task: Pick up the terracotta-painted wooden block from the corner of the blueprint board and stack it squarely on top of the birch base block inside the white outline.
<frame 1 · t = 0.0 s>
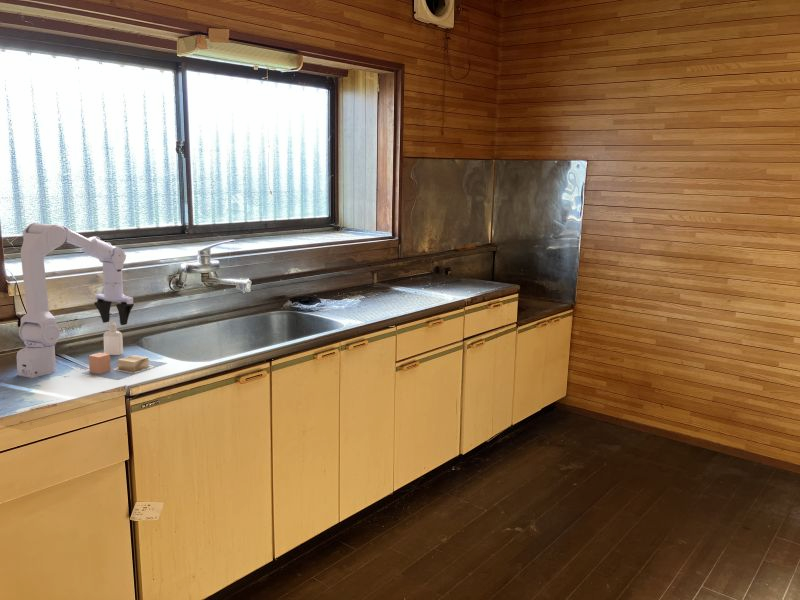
hand: (114, 323, 210), 10 cm above the counter, tool pointing down, fingers open, 7 cm apart
eye dropper bottle: (113, 356, 209), on the counter
base block: (133, 368, 193), point 1 cm above the counter, touching blueprint board
blueprint board: (126, 370, 193), on the counter
top block: (100, 371, 189), point 1 cm above the counter, touching blueprint board
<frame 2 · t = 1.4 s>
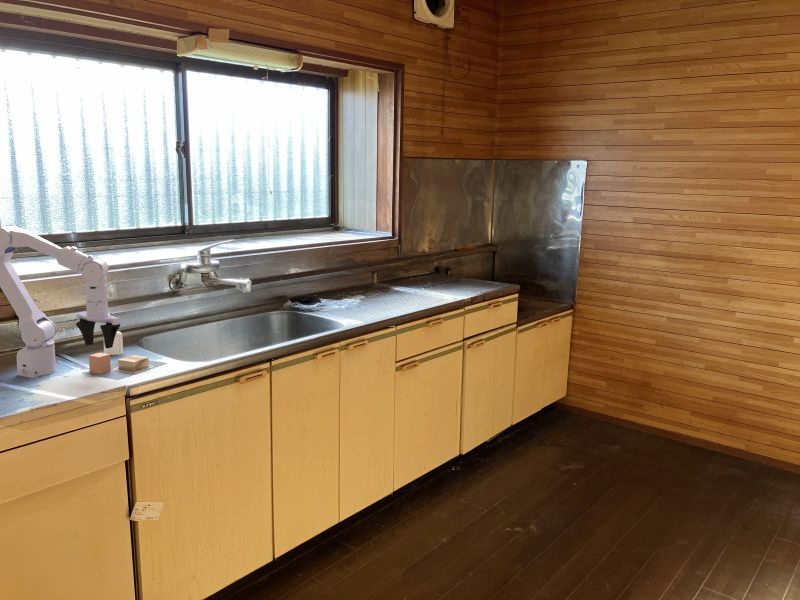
hand: (99, 346, 187), 8 cm above the counter, tool pointing down, fingers open, 7 cm apart
nothing on the counter moved.
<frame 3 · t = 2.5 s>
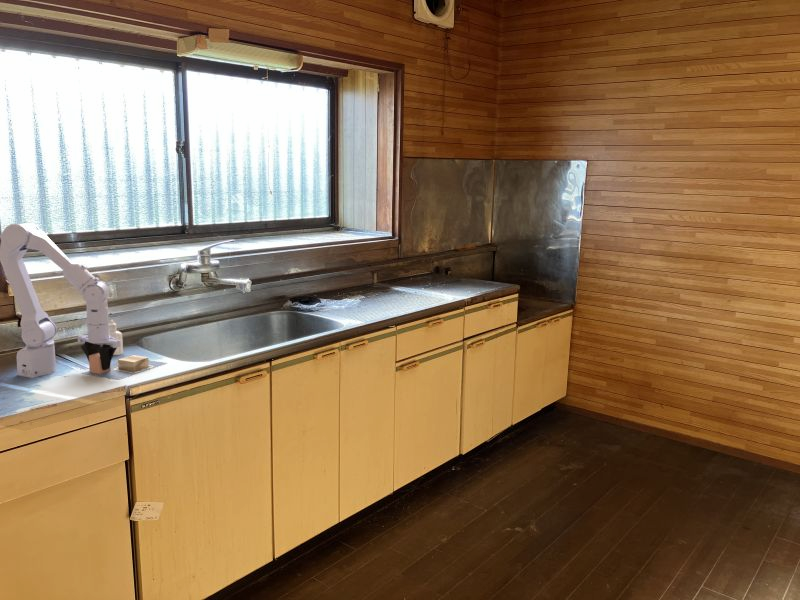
hand: (100, 368, 189), 2 cm above the counter, tool pointing down, fingers closed on top block, 4 cm apart
top block: (100, 371, 189), point 1 cm above the counter, touching blueprint board, gripper
everything else where it was.
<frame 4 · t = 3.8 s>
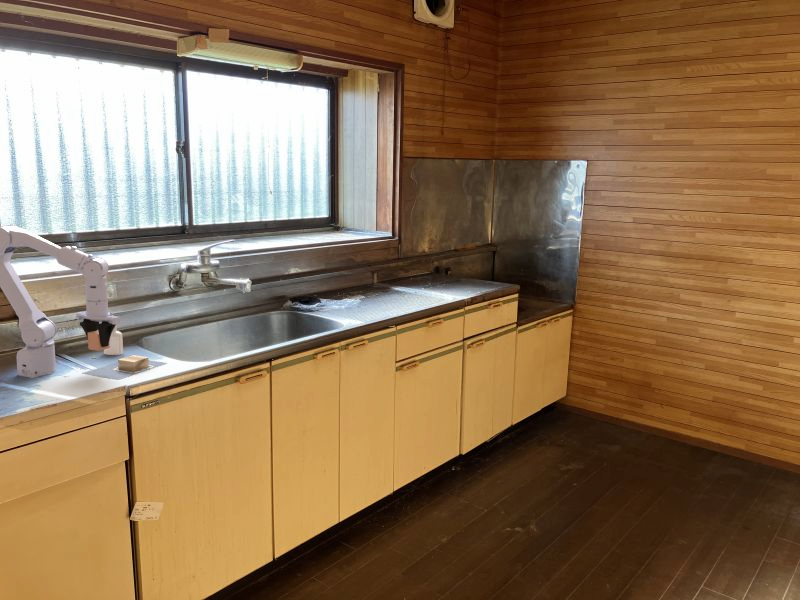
hand: (98, 345, 187), 9 cm above the counter, tool pointing down, fingers closed on top block, 4 cm apart
top block: (99, 348, 188), point 8 cm above the counter, touching gripper
everything else where it was.
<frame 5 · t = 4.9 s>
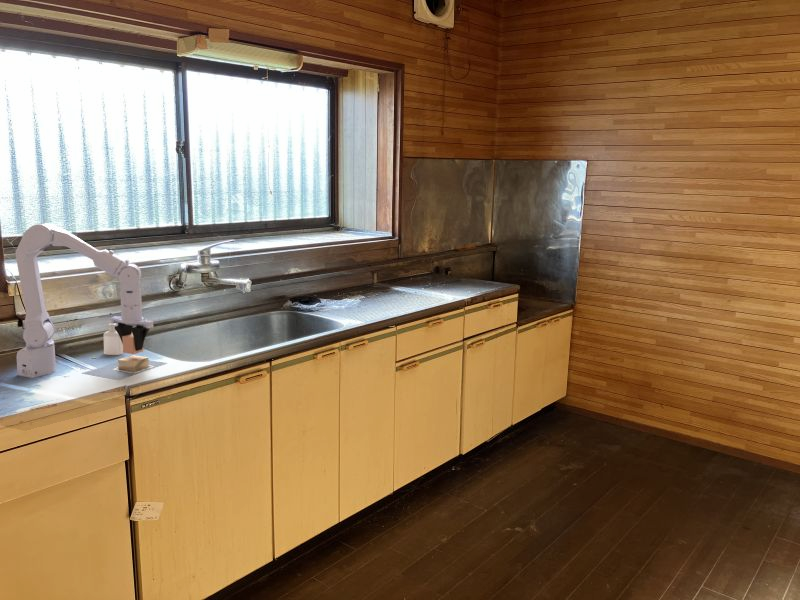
hand: (133, 348, 192), 7 cm above the counter, tool pointing down, fingers closed on top block, 4 cm apart
top block: (133, 351, 192), point 6 cm above the counter, touching gripper
everything else where it was.
when the fingers open (6 cm above the counter, at t = 5.5 s): top block drops 1 cm, resting on base block.
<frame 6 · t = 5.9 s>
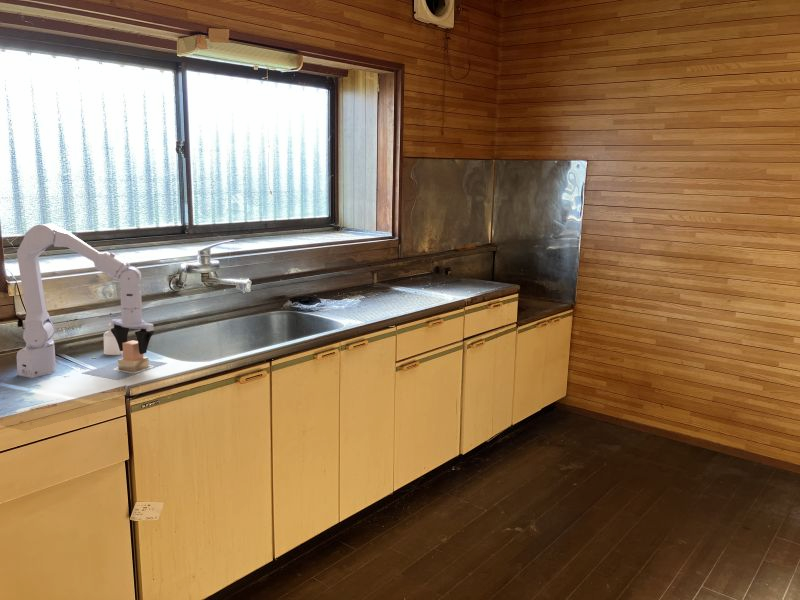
hand: (133, 351, 192), 6 cm above the counter, tool pointing down, fingers open, 7 cm apart
base block: (133, 368, 193), point 1 cm above the counter, touching blueprint board, top block
top block: (133, 358, 193), point 4 cm above the counter, touching base block
everything else where it was.
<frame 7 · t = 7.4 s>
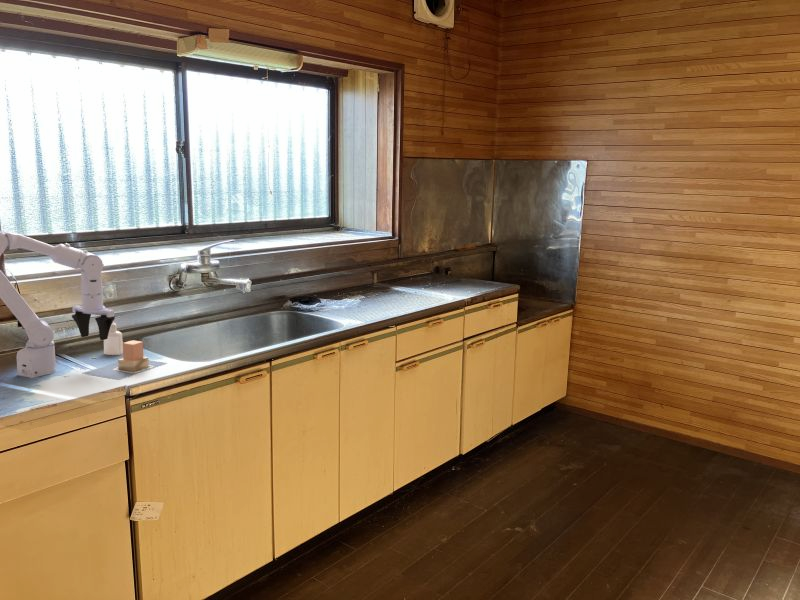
hand: (94, 337, 193), 9 cm above the counter, tool pointing down, fingers open, 7 cm apart
nothing on the counter moved.
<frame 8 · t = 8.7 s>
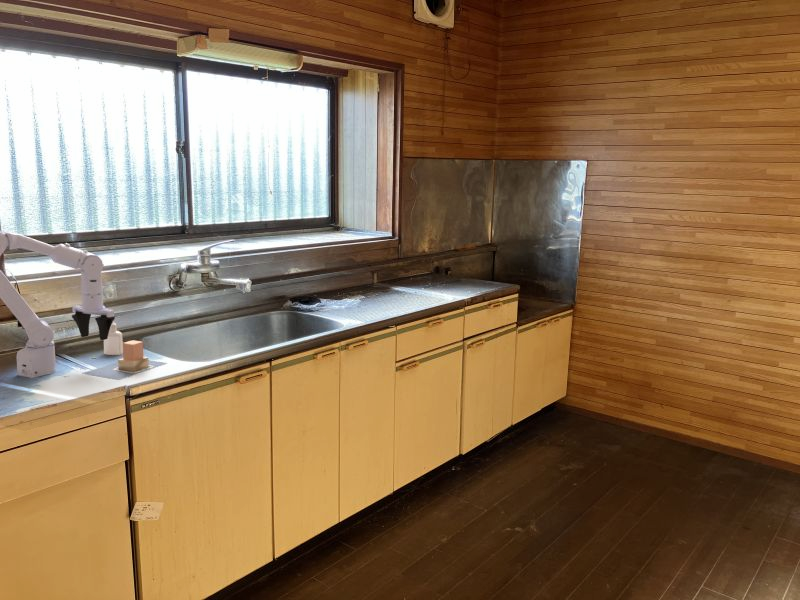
hand: (94, 337, 193), 9 cm above the counter, tool pointing down, fingers open, 7 cm apart
nothing on the counter moved.
at the end: top block 0.0 cm off-centre on the base block, point 3.0 cm above the base block's base; top block tilted 0°; base block 0.0 cm from the target spot on the blueprint board, point 0.8 cm above the blueprint board's base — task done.
